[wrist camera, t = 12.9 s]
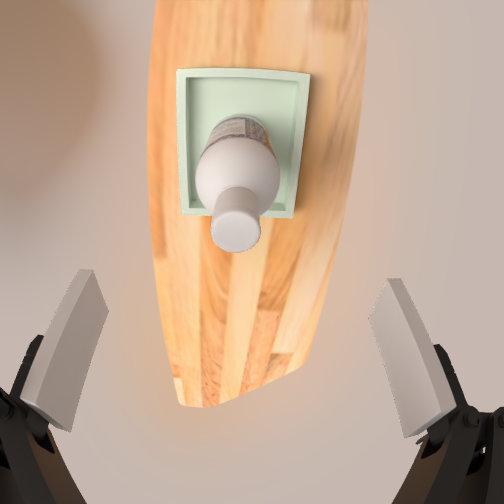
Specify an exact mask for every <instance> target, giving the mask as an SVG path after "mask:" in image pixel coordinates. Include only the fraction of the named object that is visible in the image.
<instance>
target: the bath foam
mask: <svg viewBox="0 0 504 504" xmlns="http://www.w3.org/2000/svg"><path fill="white" fill-rule="evenodd" d="M195 182H196V189H197V193H198V196H199V198H200V200H201V202H202V204H203V205H204V207H205V208H206V209H207V210H208V211H209V212H210V213H211V214H212V215H213V217H212V223H211V236H212V239H213V241H214V242H215V244H216V245H217V246H218V247H219V248H221V249H223V250H225V251H228V252H232V253H239V252H244V251H247V250H249V249H251V248H252V247H253V246H255V244H256V243H257V242H258V240H259V238H260V234H261V227H260V222H259V217H260V216H261V215H262V214H264V213H265V212H266V211H267V210H268V209H269V208H270V206H271V205H272V204H273V202H274V200H275V198H276V196H277V193H278V190H279V185H280V169H279V165H278V162H277V159H276V156H275V153H274V150H273V147H272V144H271V141H270V138H269V135H268V133H267V130H266V128H265V127H264V126H263V124H262V123H261V122H260V121H259V120H257V119H256V118H254V117H252V116H249V115H244V114H235V115H230V116H227V117H225V118H223V119H222V120H220V121H219V122H218V123H217V124H216V125H215V127H214V128H213V130H212V132H211V134H210V136H209V138H208V141H207V143H206V145H205V148H204V150H203V152H202V155H201V157H200V159H199V162H198V166H197V169H196V176H195Z"/></svg>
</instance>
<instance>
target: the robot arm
mask: <svg viewBox="0 0 504 504" xmlns="http://www.w3.org/2000/svg"><path fill="white" fill-rule="evenodd" d="M108 312H109V311H108V308H107V306H106V303H105V301H104V298H103V296H102V293H101V290H100V288H99V285H98V283H97V280H96V277H95V274H94V271H93V270H89V269H79V270H78V272H77V274H76V276H75V277H74V279H73V281H72V282H71V284H70V286H69V288H68V290H67V292H66V294H65V295H64V297H63V299H62V301H61V303H60V305H59V307H58V309H57V311H56V313H55V315H54V317H53V319H52V321H51V323H50V325H49V328H48V329H47V332H46V334H45V336H43V335H37V337H36V338H35V339H34V340H33V341H32V342H31V343H30V345H29V348H28V350H27V352H26V356H25V357H24V359H23V361H22V362H23V363H22V364H21V366H20V369H19V371H18V374H17V376H16V379H15V381H14V384H13V387H12V389H11V392H10V394H9V395H8V394H7V393H6V392H5V391H4V390H3V389H2V388H1V387H0V504H87V503H86V502H85V500H84V498H83V497H82V495H81V493H80V491H79V489H78V488H77V486H76V484H75V482H74V480H73V479H72V477H71V475H70V473H69V471H68V469H67V467H66V465H65V463H64V461H63V458H62V456H61V454H60V452H59V450H58V447H57V445H56V443H55V441H54V438H53V436H52V433H51V431H50V430H49V428H48V425H49V423H51V424H52V425H53V426H55V427H56V428H59V429H62V430H65V431H68V432H71V429H72V425H73V421H74V417H75V413H76V409H77V406H78V402H79V399H80V395H81V392H82V388H83V385H84V381H85V378H86V375H87V372H88V369H89V366H90V363H91V359H92V356H93V353H94V351H95V348H96V345H97V341H98V339H99V336H100V334H101V331H102V328H103V325H104V322H105V320H106V317H107V315H108ZM368 319H369V321H370V324H371V327H372V330H373V333H374V336H375V339H376V342H377V344H378V348H379V351H380V354H381V357H382V360H383V363H384V367H385V370H386V373H387V376H388V380H389V383H390V386H391V390H392V393H393V397H394V400H395V404H396V408H397V411H398V415H399V419H400V423H401V426H402V431H403V435H404V438H407V437H411V436H414V435H418V434H420V433H421V432H423V431H424V430H426V429H427V432H428V434H426V435H425V436H423V437H422V438H420V439H419V440H418V441H417V442H416V444H417V445H418V444H419V443H421V442H423V443H422V445H421V447H420V450H419V452H418V454H417V456H416V458H415V460H414V463H413V465H412V467H411V469H410V471H409V473H408V475H407V477H406V479H405V481H404V483H403V484H402V486H401V488H400V490H399V492H398V493H397V495H396V497H395V499H394V500H393V502H392V504H504V407H500V408H498V409H497V410H496V411H494V412H493V413H485V412H479V411H478V410H477V409H476V408H475V407H473V406H469V405H468V404H467V402H466V400H465V397H464V394H463V391H462V389H461V386H460V384H459V381H458V378H457V376H456V374H455V373H454V369H453V366H452V365H451V361H450V359H449V357H448V354H447V353H446V351H445V350H444V349H443V348H442V347H441V346H440V344H437V345H433V344H432V342H431V340H430V337H429V335H428V333H427V331H426V329H425V326H424V324H423V322H422V320H421V318H420V316H419V314H418V312H417V309H416V307H415V306H414V303H413V301H412V300H411V297H410V295H409V294H408V292H407V290H406V288H405V286H404V284H403V282H402V280H401V279H387V280H386V282H385V284H384V287H383V289H382V291H381V293H380V295H379V297H378V300H377V302H376V304H375V306H374V308H373V310H372V312H371V314H370V317H369V318H368ZM484 447H486V448H485V453H483V448H484Z"/></svg>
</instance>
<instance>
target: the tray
mask: <svg viewBox="0 0 504 504" xmlns="http://www.w3.org/2000/svg"><path fill="white" fill-rule="evenodd" d="M309 83H310V74H307V73H299V72H290V71H280V70H268V69H252V68H186V69H177V78H176V98H177V144H178V167H179V185H180V200H181V213H182V215H202V216H213V215H212V214H211V213H210V212H209V211H208V210H207V209H206V208H205V207H204V205H203V204H202V202H201V200H200V198H199V196H198V193H197V189H196V182H195V176H196V169H197V166H198V162H199V159H200V157H201V155H202V152H203V150H204V148H205V145H206V143H207V141H208V138H209V136H210V134H211V132H212V130H213V128H214V127H215V125H216V124H217V123H218V122H219V121H220V120H222V119H223V118H225V117H227V116H230V115H235V114H244V115H249V116H252V117H254V118H256V119H257V120H259V121H260V122H261V123H262V124H263V126H264V127H265V128H266V130H267V133H268V135H269V138H270V141H271V144H272V147H273V150H274V153H275V156H276V159H277V162H278V165H279V169H280V185H279V190H278V193H277V196H276V198H275V200H274V202H273V204H272V205H271V206H270V208H269V209H268V210H267V211H266V212H265V213H264V214H262V215H261V216H260V217H271V218H293V213H294V206H295V199H296V192H297V184H298V177H299V169H300V162H301V154H302V146H303V137H304V129H305V120H306V112H307V102H308V93H309Z"/></svg>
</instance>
